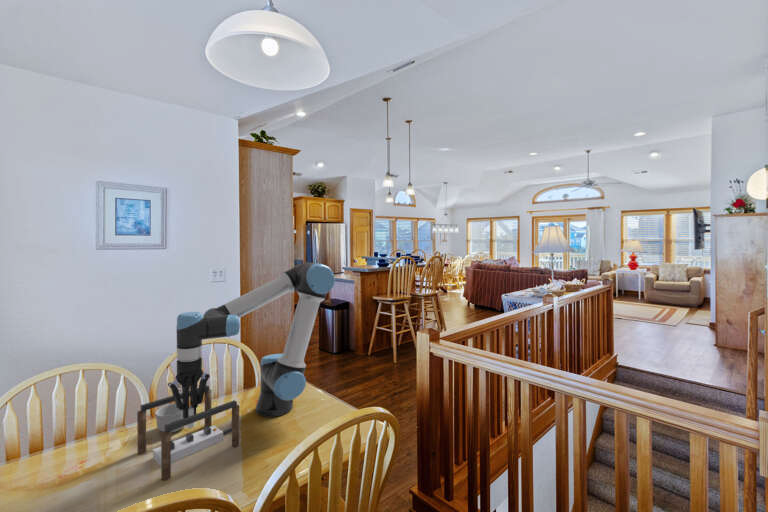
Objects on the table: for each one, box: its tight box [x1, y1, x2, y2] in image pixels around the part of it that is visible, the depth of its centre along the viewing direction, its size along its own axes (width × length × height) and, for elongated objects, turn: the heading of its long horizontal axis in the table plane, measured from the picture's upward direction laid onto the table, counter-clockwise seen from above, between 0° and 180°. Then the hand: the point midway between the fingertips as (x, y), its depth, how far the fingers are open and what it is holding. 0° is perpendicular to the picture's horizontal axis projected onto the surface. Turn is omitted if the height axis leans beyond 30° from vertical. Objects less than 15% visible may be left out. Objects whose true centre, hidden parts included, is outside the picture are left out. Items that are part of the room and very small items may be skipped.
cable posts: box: [136, 388, 240, 482], centre depth 121 cm, size 24×22×14 cm
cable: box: [165, 399, 238, 432], centre depth 114 cm, size 22×2×2 cm, turn 142°
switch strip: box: [152, 425, 232, 468], centre depth 123 cm, size 26×7×5 cm, turn 142°
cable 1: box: [140, 384, 210, 411], centre depth 127 cm, size 22×2×2 cm, turn 142°
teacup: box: [154, 402, 185, 434], centre depth 135 cm, size 14×11×8 cm
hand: (189, 426), depth 121 cm, fingers closed
